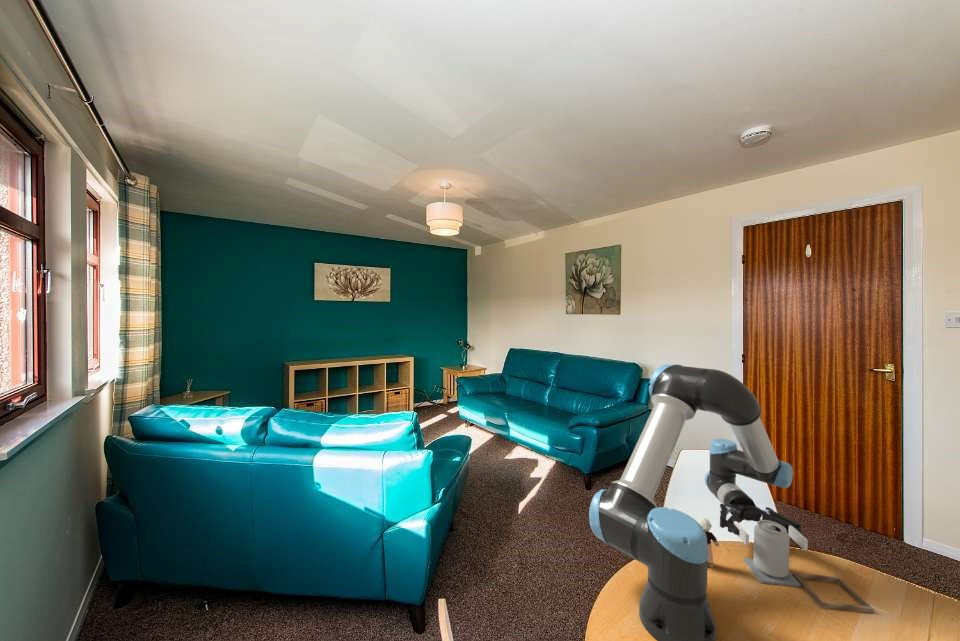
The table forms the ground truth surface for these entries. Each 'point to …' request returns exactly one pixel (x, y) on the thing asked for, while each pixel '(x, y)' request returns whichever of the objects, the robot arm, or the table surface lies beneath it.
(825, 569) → the table surface
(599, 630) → the table surface
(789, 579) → the coaster
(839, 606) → the brown square frame
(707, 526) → the grandmother figurine
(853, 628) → the table surface
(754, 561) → the can
